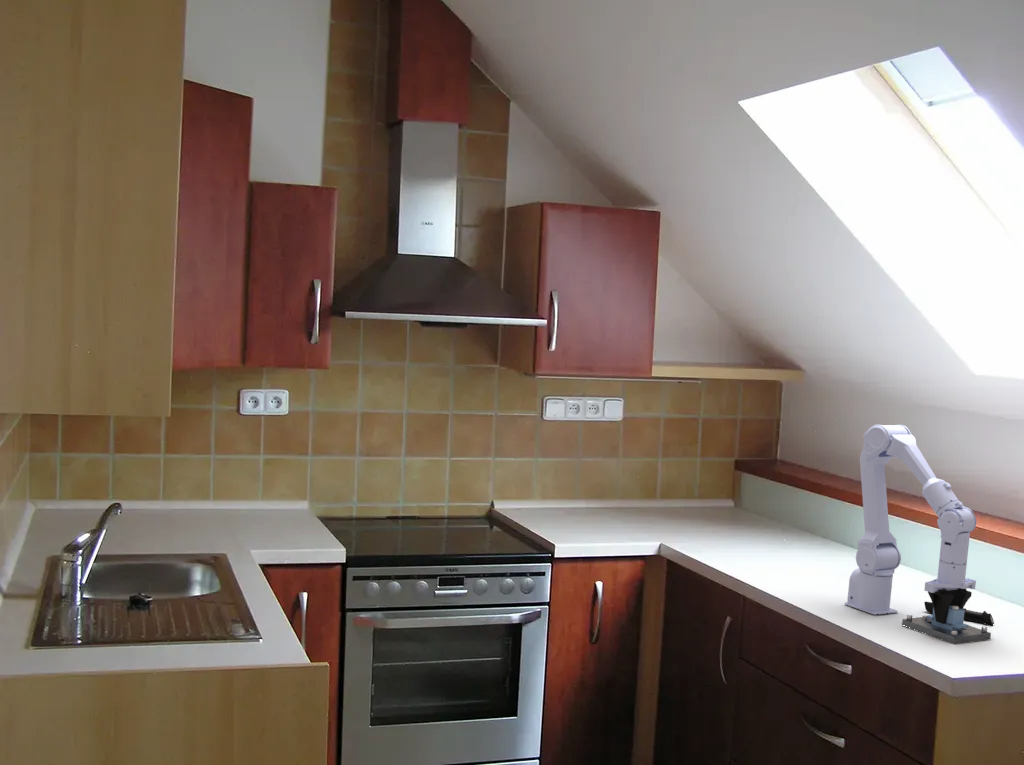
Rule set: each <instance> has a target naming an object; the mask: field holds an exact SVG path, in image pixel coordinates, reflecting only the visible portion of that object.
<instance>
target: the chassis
mask: <svg viewBox="0 0 1024 765" xmlns="http://www.w3.org/2000/svg"><path fill="white" fill-rule="evenodd" d="M927 615H928V614H927ZM927 615H926V614H925V615H922V616H919V617H918V616H917V617H913V615H910V614H907V615H906V618H902V620H901V621H902V622H901V626H902V625H905V626H907V627H910V628H912V629H911V630H913V629H915V630H914V631H916V630H918V631H917V632H919V631H921V632H923V633H922V634H924V633H926V634H925V635H927V634H928V635H927V636H930V635H931V636H930V637H933V638H935V637H936V639H939V640H941V639H942V641H944V640H945V641H944V642H947V643H949V642H950V644H953V645H957V643H959V644H964V642H967V643H973V641H974V642H981V641H980V640H982V641H989V640H988V639H990V640H991V635H992V632H990V631H988V626H987V627H986V626H981V628H978V627H975V626H972V625H969V627H968V628H963V630H959V631H955V630H951V631H950V630H947V629H944V628H941V627H938V626H935V625H932V619H929V618H926V617H927ZM905 626H904V627H905ZM907 627H906V628H907ZM910 628H909V629H910ZM921 632H920V633H921ZM971 641H972V642H971Z"/></svg>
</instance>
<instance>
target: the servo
mask: <svg viewBox="0 0 1024 765" xmlns="http://www.w3.org/2000/svg"><path fill="white" fill-rule="evenodd" d="M964 612H965V610H963V609H960V608H959V607H958V606H951V605H950V606H949V610H948V615H947V620H946V623H945V624H942V623H939V622H936V619H935V612H934V607H933V613H932V614H927V617H926V618H929V619H932V625H935V626H938V627H941V628H944V629H947V630H950V631H951V630H955V631H959V630H963V628H968V627H969V626H970V625H969V624H967V623H964V621H965V620H964Z"/></svg>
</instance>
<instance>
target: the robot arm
mask: <svg viewBox="0 0 1024 765" xmlns="http://www.w3.org/2000/svg"><path fill="white" fill-rule="evenodd" d="M862 435H863V437H862V438H863V445H862V449H861V452H860V456H859V466H860V467H859V469H860V480H861V481H860V483H861V494H862V508H863V520H864V522H863V523H864V532H863V534H862V536H860V538H859V539H858V540H857V545H858V546H857V551H856V554H855V561H856V565H857V568H855V569H854V570H852V572H851V574H850V577H849V578H848V579H849V580H848V588H847V589H848V591H847V598H846V599H847V601H846V602H844V605H845V606H848V607H852V608H854V609H857V610H860V611H862V612H865V613H868V614H872V615H874V616H876V615H877V614H878V615H885V614H886V615H887V613H888V614H895V613H896V614H897V613H898V610H897V609H894V608H891V599H892V598H891V597H892V596H891V594H892V588H893V586H892V585H893V577H894V574H895V570H896V569H897V568H899V567H900V564H901V563H902V562H901V561H902V555H901V554H902V553H901V552H900V550H899V547H898V545H897V544H898V543H897V539H896V537H895V536H894V535H893V534H892V532H890V522H889V509H888V496H887V484H886V483H887V482H886V468H885V465H886V464H887V463H888V462H889V461H890V460H891V459H892V458H893V457H894V458H898V459H901V460H902V462H904V464H905V465H906V466H907V467H908V469H909V470H910V471H911V472H912V474H913V475H914V476H915V477H916V479H917V480H918V482H919V483H920V484H921V485H922V491H921V495H922V496H923V497H924V499H925V500H926V501H927V504H928V505H929V506H930V508H931V509H932V510H933V512H934V513H935V515H936V516H937V521H936V522H937V526H938V528H939V531H940V539H941V540H940V548H939V561H938V568H937V578H934V579H932V580H930V581H925V582H924V591H925V592H927V593H928V596H929V598H930V600H931V602H932V603H933V607H934V612H935V619H936V622H939V623H942V624H945V623H946V620H947V615H948V610H949V606H950V605H951V606H958V607H959V608H960V609H963V608H964V607H965V606H966V604H967V602H968V601H969V600H970V598H971V597H972V594H973V593H972V591H970V590H967V589H971V590H975V589H976V583H977V580H975V579H972V578H966V573H967V566H968V556H969V545H970V544H969V543H970V537H971V536H970V534H971V533H972V532H973V531H974V530H975V529H976V526H977V517H976V515H975V513H974V511H973V510H972V509H971V508H970V507H966V506H964V503H963V502H962V501H960V500H959V499H958V498H957V496H956V494H955V493H954V492H953V490H952V489H951V488H952V485H951V484H950V483H949V482H946V481H945V480H944V479H940V478H937V476H936V475H935V473H934V471H933V470H932V468H931V466H930V465H929V463H928V462H927V460H926V458H925V457H924V455H923V454H922V452H921V450H920V449H919V447H918V444H917V440H916V439H917V438H916V437H915V436H914V435H913V434H912V433H911V431H910V429H909V428H908V427H907V426H906V425H903V424H895V425H893V424H887V425H886V424H885V425H883V424H873V425H872V426H871V427H869V428H868V430H866V431H865V432H864V434H862ZM878 615H877V616H878Z"/></svg>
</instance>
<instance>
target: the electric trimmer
mask: <svg viewBox="0 0 1024 765" xmlns="http://www.w3.org/2000/svg"><path fill="white" fill-rule="evenodd" d="M924 607H925V608H924V609H925V610H926V612H929V613H932V614H933V603H932V601H924ZM963 610H965V612H964V621H968V620H969V622H975V623H979V624H984V625H986V626H987V625H991V627H993V626H994V625H995V622H994V618H993V616H992V615H993V614H991V613H988V612H987V611H986V610H984V611H983V612H979V611H974V610H970V609H969V610H968V609H967V608H964V607H963ZM993 624H994V625H993Z"/></svg>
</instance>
